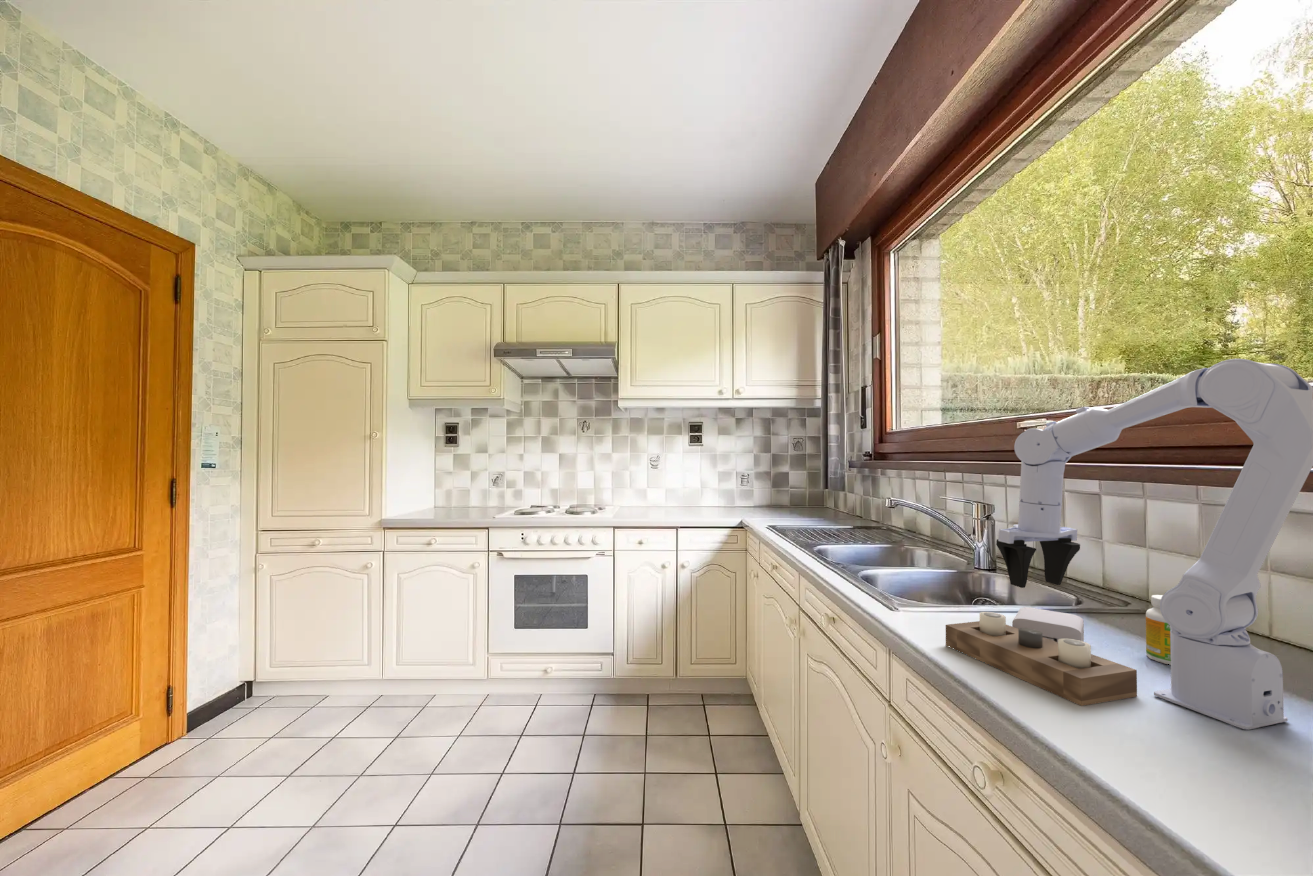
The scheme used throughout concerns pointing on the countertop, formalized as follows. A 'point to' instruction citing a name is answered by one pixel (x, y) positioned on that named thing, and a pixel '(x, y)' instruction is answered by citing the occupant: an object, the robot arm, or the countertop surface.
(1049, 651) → the knob mount
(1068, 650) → the near knob
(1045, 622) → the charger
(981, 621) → the far knob
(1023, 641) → the pot knob
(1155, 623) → the supplement bottle
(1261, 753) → the countertop surface
